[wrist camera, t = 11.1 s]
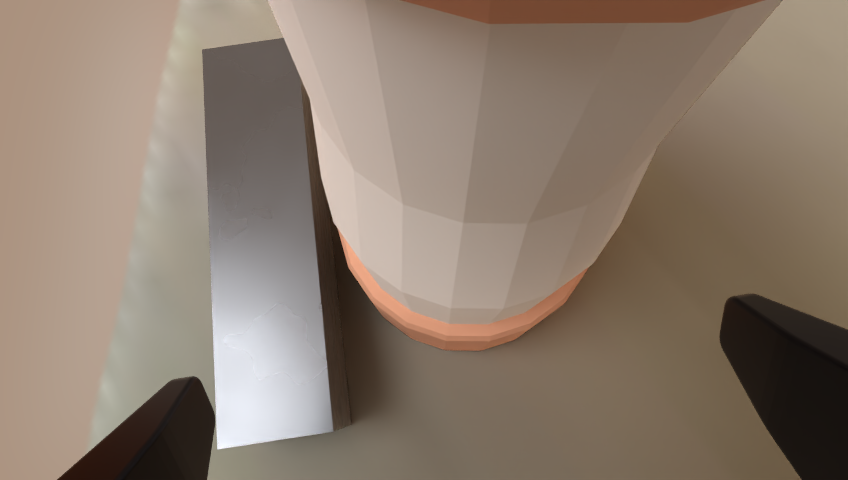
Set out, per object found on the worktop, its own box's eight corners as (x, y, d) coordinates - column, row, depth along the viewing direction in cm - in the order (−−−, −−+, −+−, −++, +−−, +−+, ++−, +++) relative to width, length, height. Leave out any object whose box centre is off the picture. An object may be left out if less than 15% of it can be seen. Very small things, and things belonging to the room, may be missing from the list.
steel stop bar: (351, 425, 17) (333, 431, 14) (255, 439, 17) (217, 449, 14) (316, 87, 20) (295, 36, 17) (236, 99, 20) (202, 49, 17)
